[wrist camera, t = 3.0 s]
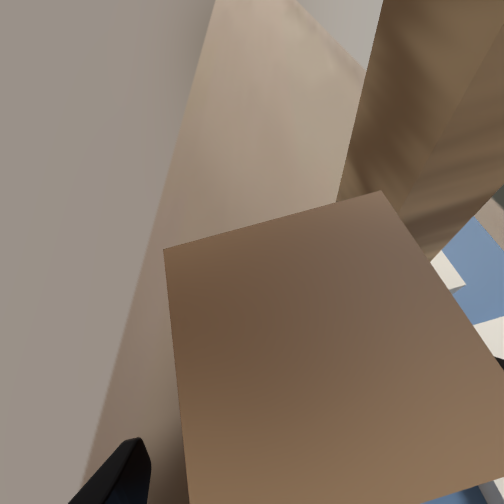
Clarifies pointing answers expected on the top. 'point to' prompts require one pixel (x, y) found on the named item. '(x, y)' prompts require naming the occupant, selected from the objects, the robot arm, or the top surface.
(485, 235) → the mat
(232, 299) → the walnut pillar
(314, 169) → the top surface
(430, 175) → the oak pillar
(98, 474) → the robot arm
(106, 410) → the top surface
